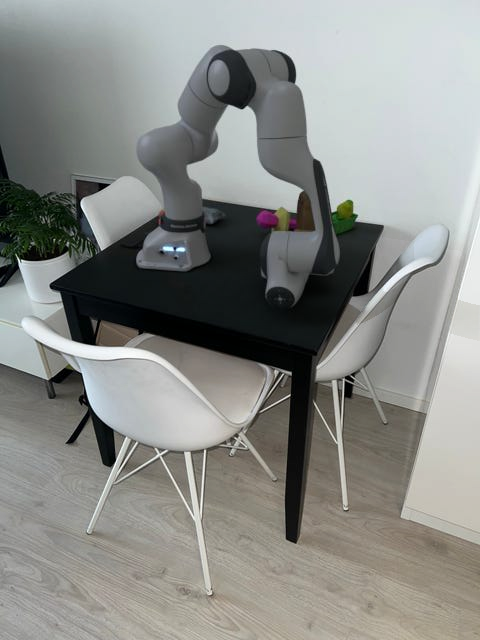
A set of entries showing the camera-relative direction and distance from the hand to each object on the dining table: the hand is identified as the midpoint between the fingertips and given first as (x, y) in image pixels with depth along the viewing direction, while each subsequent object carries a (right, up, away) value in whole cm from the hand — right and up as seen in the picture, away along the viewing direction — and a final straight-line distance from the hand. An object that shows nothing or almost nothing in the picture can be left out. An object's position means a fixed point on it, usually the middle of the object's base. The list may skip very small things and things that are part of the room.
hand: (302, 248), depth 144 cm
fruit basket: (+16, +10, +29) cm, 34 cm away
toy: (-4, +8, +26) cm, 28 cm away
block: (+3, -1, +12) cm, 12 cm away
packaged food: (-30, +14, +36) cm, 49 cm away
